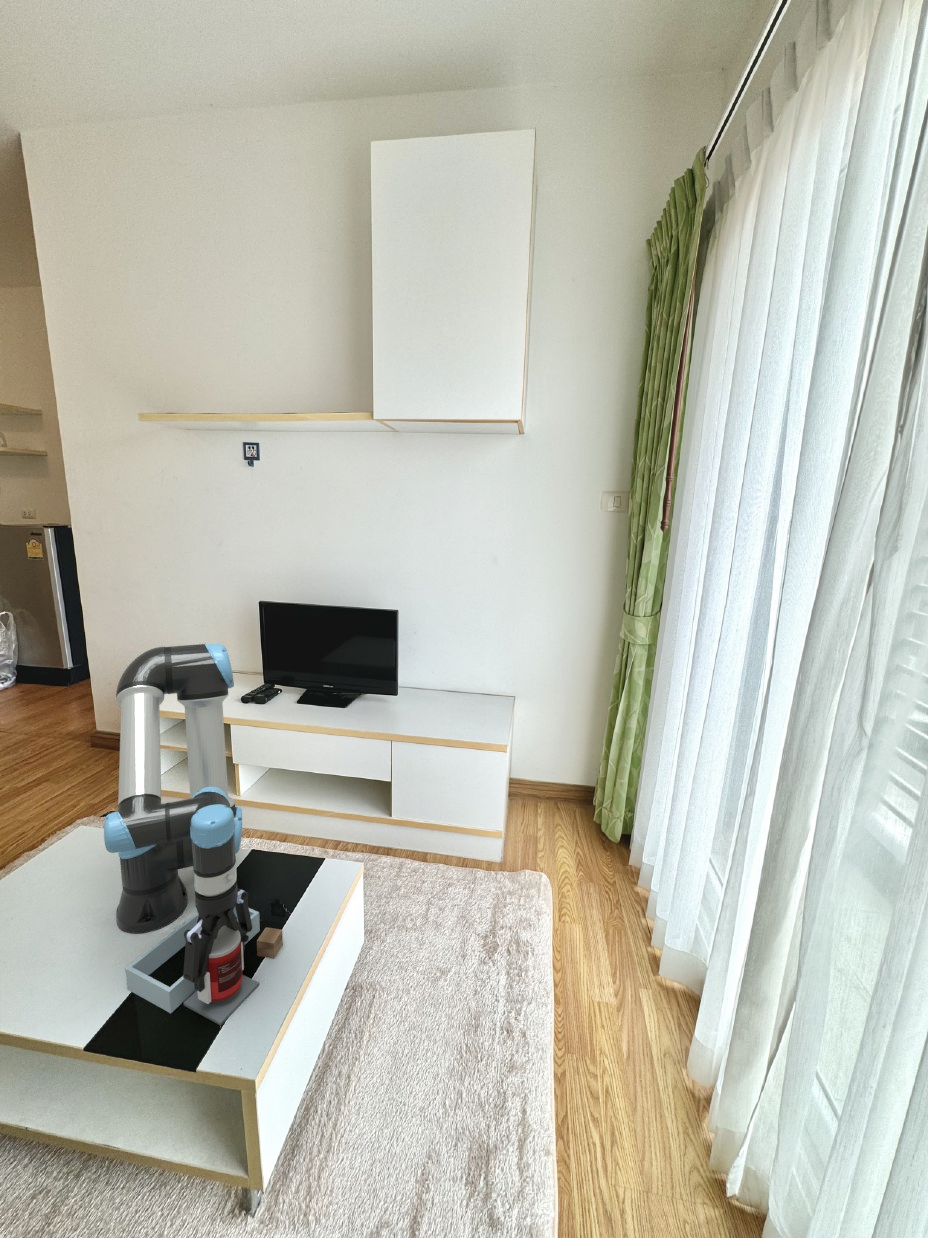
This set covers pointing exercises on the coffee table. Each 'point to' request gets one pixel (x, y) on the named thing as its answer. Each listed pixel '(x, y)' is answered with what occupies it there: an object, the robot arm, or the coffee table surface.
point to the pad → (222, 1002)
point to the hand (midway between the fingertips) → (221, 983)
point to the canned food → (225, 964)
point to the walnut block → (269, 943)
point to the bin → (161, 953)
